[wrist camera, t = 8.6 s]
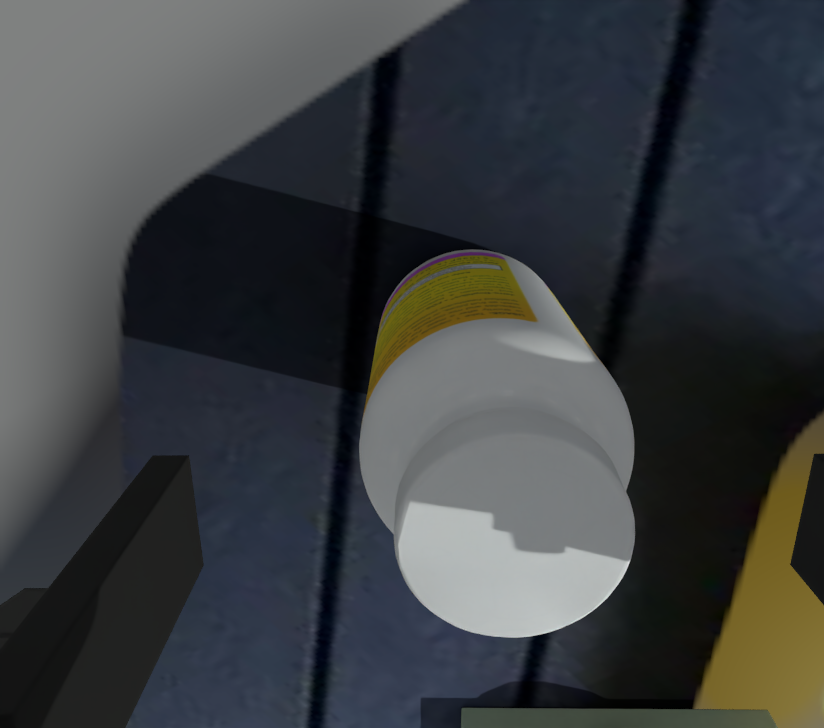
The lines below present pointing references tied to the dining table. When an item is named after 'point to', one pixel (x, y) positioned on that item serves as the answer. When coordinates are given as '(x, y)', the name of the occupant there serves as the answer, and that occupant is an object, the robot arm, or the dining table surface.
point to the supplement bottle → (496, 449)
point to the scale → (613, 718)
